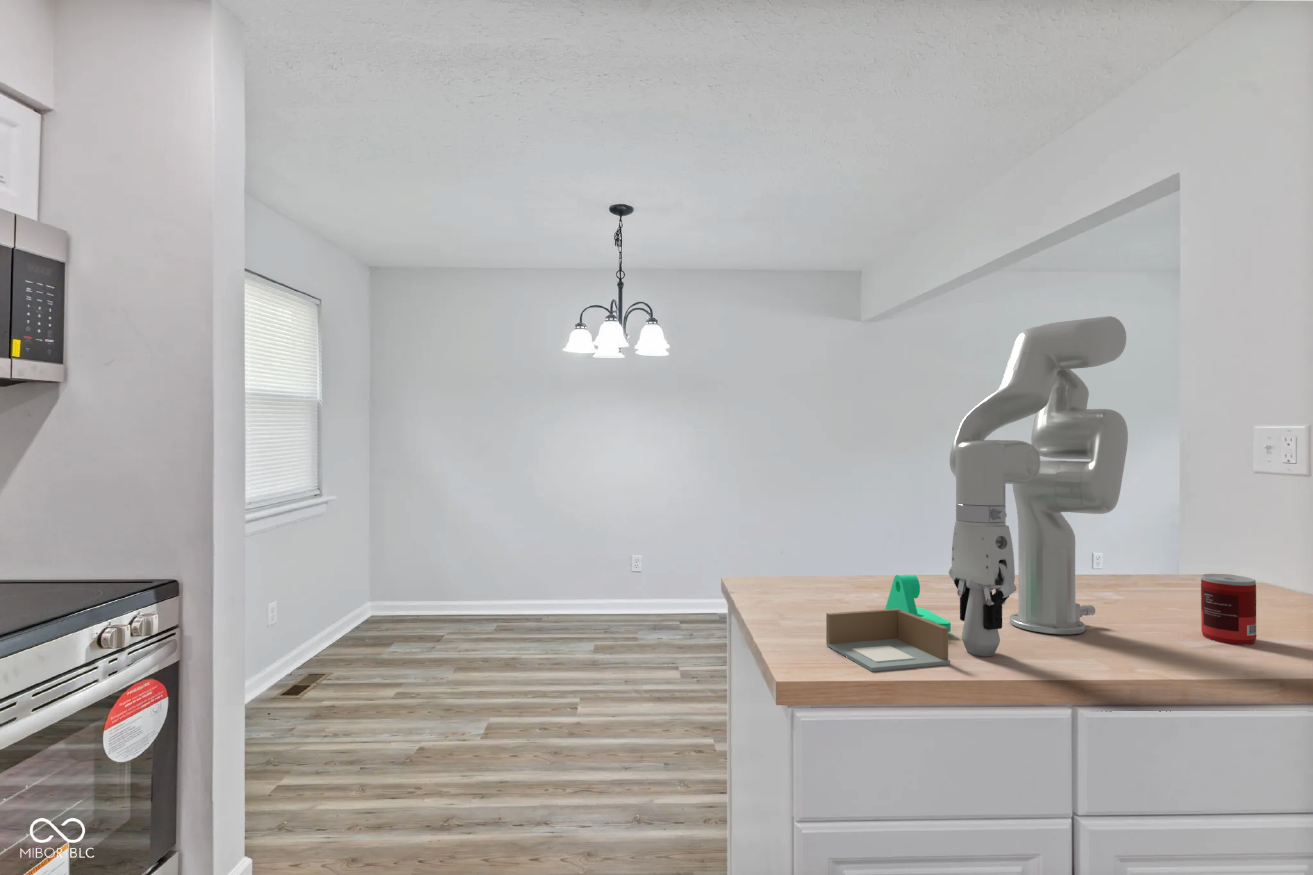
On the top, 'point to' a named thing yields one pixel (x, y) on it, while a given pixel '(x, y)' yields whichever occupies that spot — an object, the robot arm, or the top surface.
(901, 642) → the grey and wooden tray
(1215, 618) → the canned food
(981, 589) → the salt shaker
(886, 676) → the top surface
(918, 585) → the camera mount
